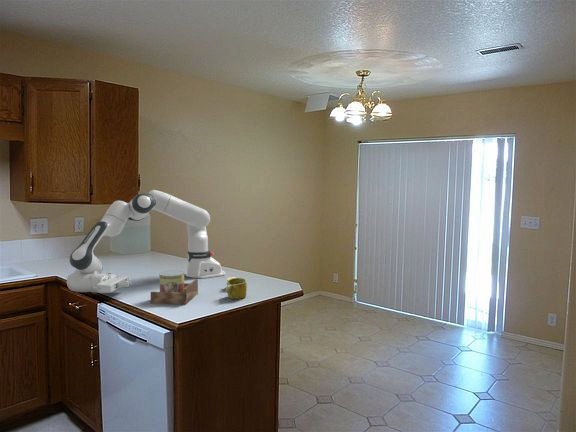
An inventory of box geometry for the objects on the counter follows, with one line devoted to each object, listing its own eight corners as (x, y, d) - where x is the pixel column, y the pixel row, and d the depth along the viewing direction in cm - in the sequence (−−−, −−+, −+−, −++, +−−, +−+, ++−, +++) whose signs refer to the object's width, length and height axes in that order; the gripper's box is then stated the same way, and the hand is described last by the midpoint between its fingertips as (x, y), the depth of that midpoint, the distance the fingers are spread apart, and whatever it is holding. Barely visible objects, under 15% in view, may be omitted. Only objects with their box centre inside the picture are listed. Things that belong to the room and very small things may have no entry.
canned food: (158, 302, 195) (158, 276, 194) (160, 295, 206) (160, 271, 205) (184, 301, 198) (184, 275, 197) (184, 294, 209) (184, 270, 208)
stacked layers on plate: (220, 288, 223) (220, 277, 222) (237, 286, 227) (237, 275, 226) (227, 292, 214) (227, 281, 213) (244, 290, 218) (244, 279, 218)
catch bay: (150, 303, 194) (150, 288, 193) (165, 292, 212) (165, 278, 211) (186, 304, 192) (185, 289, 192) (197, 293, 211) (197, 279, 210)
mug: (236, 288, 213) (237, 271, 209) (250, 298, 207) (252, 281, 203) (217, 298, 204) (218, 280, 200) (231, 308, 199) (232, 290, 194)
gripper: (89, 281, 194) (119, 282, 193) (111, 272, 214) (138, 273, 213) (90, 295, 194) (119, 296, 193) (112, 284, 214) (139, 285, 213)
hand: (129, 284), depth 203 cm, fingers closed
